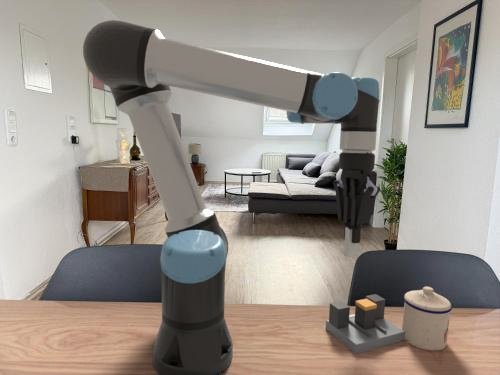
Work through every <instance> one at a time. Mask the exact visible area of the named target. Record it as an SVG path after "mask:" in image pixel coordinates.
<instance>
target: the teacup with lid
mask: <svg viewBox="0 0 500 375" xmlns="http://www.w3.org/2000/svg"><path fill="white" fill-rule="evenodd" d="M403 301H404V303H403V304H404V306H403V314H402V326H401V327H402V328H401V329H402V330H403V331H405V336H404V341H406V342H407V343H408V344H410V345H412V346H414V347H416V348H418V349H422V350H426V351H432V352H434V351H441V350H444V349H445V348H446V347H447V342H448V335H449V334H448V333H449V324H450V315H451V311H452V310H453V307H452V304H451V302H450V301H449V299H447V298H446V297H445V296H442V295H440V294H438V293H436V292H435V291H434V288H432V287H431V286H424V287H422V289H419V290H418V289H417V290H410V291H407V292H406V293H405V294H404V296H403Z"/></svg>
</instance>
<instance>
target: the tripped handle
mask: <svg viewBox="0 0 500 375" xmlns="http://www.w3.org/2000/svg"><path fill="white" fill-rule="evenodd" d="M376 308H377V305H376V304H375V303H373V302H372V301H370V300H368V299H365V298H362V299H358V300H355V309H354V310H355V311H354V314H355V323H356V324H358V325H359V326H360V327H362V328H363V329H364V330H367V329H371V328H375V319H376Z"/></svg>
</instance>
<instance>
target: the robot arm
mask: <svg viewBox="0 0 500 375" xmlns="http://www.w3.org/2000/svg"><path fill="white" fill-rule="evenodd" d="M82 57H83V59H84V62H85V65H86V67H87V70H88V72H90V73H91V75H92V76H93V77H94V79H96V80H97V81H98V82H100V83H101V84H104V85H105V86H107V87H109V89H110V93H111V94H112V97H113V99H114V103H115V104H116V107H117V109H118V111H119V112H122V113H124V114H125V115H127V116H128V118H129V120H130V123H131V126H132V128H133V130H134V134H135V135H136V139H137V142H138V144H139V146H140V149H141V151H142V154H143V157H144V159H145V161H146V162H145V163H146V165H147V167H148V169H149V172H150V175H151V177H152V181H153V182H154V186H155V188H156V190H157V193H158V195H159V198H160V201H161V204H162V206H163V209H164V212H165V214H166V217H167V219H168V221H167V223H166V226H165V228H164V231H165V234H166V237H167V238H166V239H165V240H164V242H163V244H162V247H161V253H160V258H159V260H160V267H161V270H160V272H161V273H160V274H161V275H160V276H161V277H160V278H161V323H160V326H159V328H158V332H157V335H156V338H155V341H154V344H153V347H152V364H153V368H154V369H155V370H156V372H157V373H158V374H159V375H220V374H221V373H223V372H224V371H225V370H227V368H228V367H229V366H230V364H231V362H232V359H233V356H234V355H233V354H234V352H233V351H234V345H233V340H232V337H231V333H230V330H229V328H228V325H227V322H226V319H225V289H226V288H225V283H226V267H227V258H228V254H229V240H228V237H227V234H226V232H225V231H224V229H223V228H222V227H221V226H220V223H219V220H218V217H217V214H216V212H215V210H214V209H211V208H209V207H207V206H206V204H205V202H204V199H203V195H202V194H201V191H200V188H199V185H198V183H197V180H196V177H195V174H194V171H193V169H192V166H191V163H190V160H189V157H188V155H187V153H186V149H185V147H184V144H183V142H182V141H183V140H182V138H181V135H180V133H179V129H178V127H177V125H176V122H175V119H174V116H173V113H172V112H171V107H170V105H169V100H170V99H171V97H172V94H173V93H172V89H171V87H173V88H177V89H183V90H187V91H191V92H197V93H202V94H206V95H210V96H215V97H220V98H225V99H229V100H234V101H239V102H242V103H249V104H252V105H256V106H261V107H266V108H271V109H275V110H280V111H286V118H287V120H288V121H289V122H290V123H292V124H293V123H295V124H302V125H304V124H334V125H337V124H340V135H339V137H340V138H339V150H340V151H342V152H340V153H339V155H338V156H339V157H338V168H339V169H340V170H342V171H341V174H340V177H339V179H336V180H333V182H332V185H333V187H334V190H335V199H336V200H335V201H336V211H337V220H338V222H339V223H342V225H343V227H344V230H343V231H344V232H343V238H344V239H343V240H344V249H343V250H344V251H343V255H344V256H345V257H347V258H351V257H358V256H359V243H360V242H361V236H362V235H361V234H362V229H365V228H366V229H367V228H369V226H370V222H371V218H372V215H373V214H372V213H373V210H374V207H375V202H376V199H377V196H378V194H379V193H380V191H381V187H380V186H379V185H378V186H377V185H375V184H374V183H373V178H372V174H371V173H372V171H373V170H374V169H375V162H376V161H375V160H376V155H375V153H373V152H374V151H375V150H376V145H377V134H378V133H377V130H378V128H377V127H378V116H379V106H380V101H381V100H380V82H379V81H378V79H376V78H373V77H369V76H368V77H367V76H366V77H365V76H361V77H351V76H349V75H348V74H346V73H344V72H339V71H336V72H335V71H334V72H328V73H319V72H315V71H309V70H305V69H301V68H296V67H292V66H289V65H283V64H279V63H275V62H270V61H266V60H263V59H257V58H254V57H253V58H252V57H249V56H244V55H240V54H235V53H231V52H227V51H222V50H217V49H213V48H209V47H206V46H205V47H204V46H200V45H195V44H192V43H187V42H183V41H178V40H174V39H170V38H166V37H164V36H163V34H162V32H161V31H160V30H158V29H155V28H151V27H146V26H142V25H138V24H134V23H131V22H126V21H122V20H116V19H114V20H113V19H111V20H106V21H105V20H104V21H102V22H100V23H99V22H98V23H97V24H96V25H94V26H93V27H92V28H91V29H90V30H89V31H88V33H87V34H86V35H85V38H84V41H83V46H82Z"/></svg>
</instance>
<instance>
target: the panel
mask: <svg viewBox="0 0 500 375" xmlns="http://www.w3.org/2000/svg"><path fill="white" fill-rule="evenodd" d="M364 299H368V300H370V301H372V302H373V303H375V304H376V305H377V308H376V319H375V328H371V329H367V330H364V329H363V328H362V327H360V326H359V325H358V324H356V323H355V313H353V314H350V310H351V307H350V305H348V304H346V303H344V302H343V301H342V300H338V301H334V302H330V303H329V314H328V319H325V329H326V330H327V331H328V332H329V333H330V334H332V335H333V336H334V337H335V338H336V339H337V340H339V341H340V342H341V343H342V344H344V346H346V347H347V348H348V349H349V350H350V351H352V353H354V354H355V355H356V354H360V353H364V352H367V351H372V350H374V349H378V348H382V347H385V346H389V345H393V344H397V343H398V342H399V343H401V342H403V341H405V339H404V336H405V331H403V330H402V328H401V327H398V326H397V325H395V324H394V323H392V322H391V321H389V320H387V319H385V309H386V308H385V306H386V299H385V298H384V297H382V296H381V295H378V294H376V293H374V294H370V295H369V294H368V295H365V298H364Z"/></svg>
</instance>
